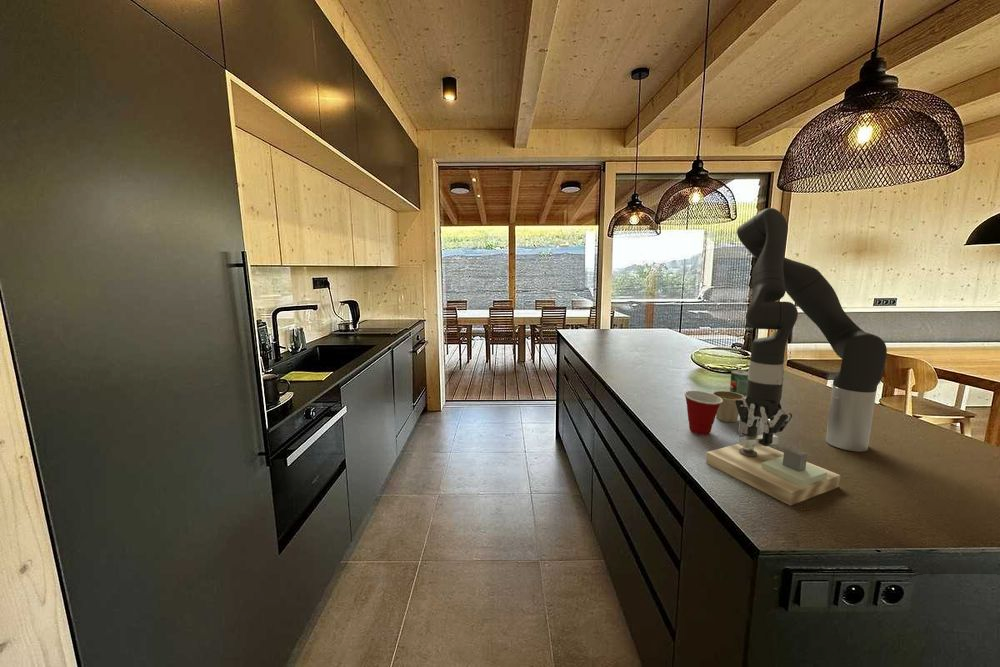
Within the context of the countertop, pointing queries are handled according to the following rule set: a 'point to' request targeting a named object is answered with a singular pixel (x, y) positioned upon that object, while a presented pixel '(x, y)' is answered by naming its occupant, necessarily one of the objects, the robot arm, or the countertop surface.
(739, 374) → the canned tomato
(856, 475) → the countertop surface
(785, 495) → the latch base
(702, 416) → the plastic cup
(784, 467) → the snap lid
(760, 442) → the grey long bar
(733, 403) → the flower pot
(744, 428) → the energy drink
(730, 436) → the countertop surface
